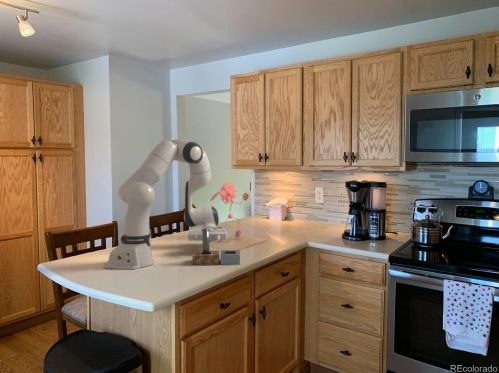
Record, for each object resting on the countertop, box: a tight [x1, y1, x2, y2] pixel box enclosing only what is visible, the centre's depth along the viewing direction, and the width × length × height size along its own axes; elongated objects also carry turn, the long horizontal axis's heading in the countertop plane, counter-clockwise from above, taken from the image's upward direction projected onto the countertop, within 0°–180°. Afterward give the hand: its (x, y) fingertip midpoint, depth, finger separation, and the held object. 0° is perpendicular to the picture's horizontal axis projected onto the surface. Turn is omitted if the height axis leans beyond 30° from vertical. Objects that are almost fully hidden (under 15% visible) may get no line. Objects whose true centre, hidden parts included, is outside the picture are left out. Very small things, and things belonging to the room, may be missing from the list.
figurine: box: [210, 182, 250, 243], centre depth 232 cm, size 15×26×35 cm, turn 130°
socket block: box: [220, 249, 241, 266], centre depth 183 cm, size 9×9×4 cm
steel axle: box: [201, 228, 210, 254], centre depth 182 cm, size 3×3×16 cm
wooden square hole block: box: [192, 250, 220, 266], centre depth 183 cm, size 12×9×4 cm
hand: (207, 238), depth 191 cm, fingers open, 8 cm apart
